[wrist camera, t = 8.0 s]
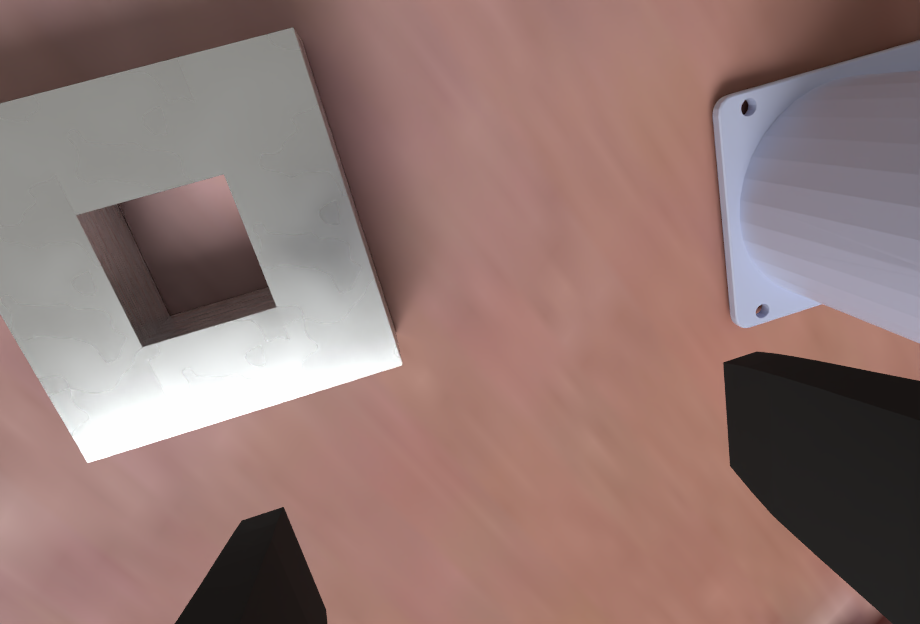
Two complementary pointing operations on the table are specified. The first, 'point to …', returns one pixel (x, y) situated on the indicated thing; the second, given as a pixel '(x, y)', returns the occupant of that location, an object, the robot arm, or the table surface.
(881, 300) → the robot arm
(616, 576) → the table surface
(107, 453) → the block
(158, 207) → the table surface
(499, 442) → the table surface
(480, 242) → the table surface
